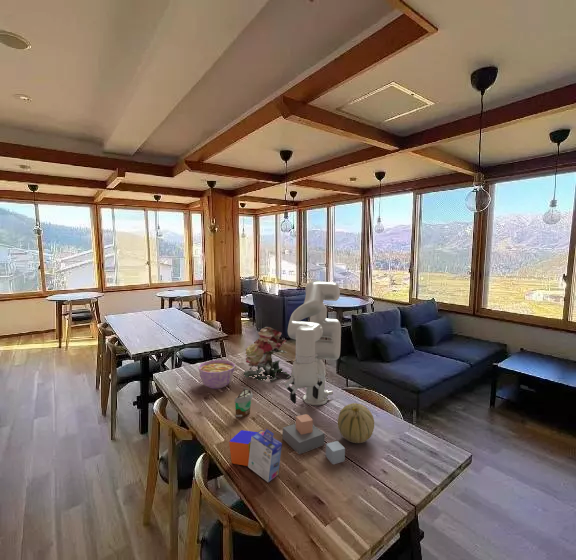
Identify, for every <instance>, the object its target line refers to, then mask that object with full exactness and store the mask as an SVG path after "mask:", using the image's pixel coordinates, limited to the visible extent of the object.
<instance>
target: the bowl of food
mask: <svg viewBox="0 0 576 560" xmlns="http://www.w3.org/2000/svg"><path fill="white" fill-rule="evenodd" d="M235 367H236V365H235V363H234V362H232V361H230V360H223V359H218V360H217V359H213V360H209V361H204V362H203V363H201V364H199V365H198V372H199V376H200V379H201V382H202V384H203V385H204V386H206V387H208V388H210V389H212V390H218V389H222V388H224V387H226V386H228V385H229V384H230V383H231V381H232V379H233V374H234V372H235Z"/></svg>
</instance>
